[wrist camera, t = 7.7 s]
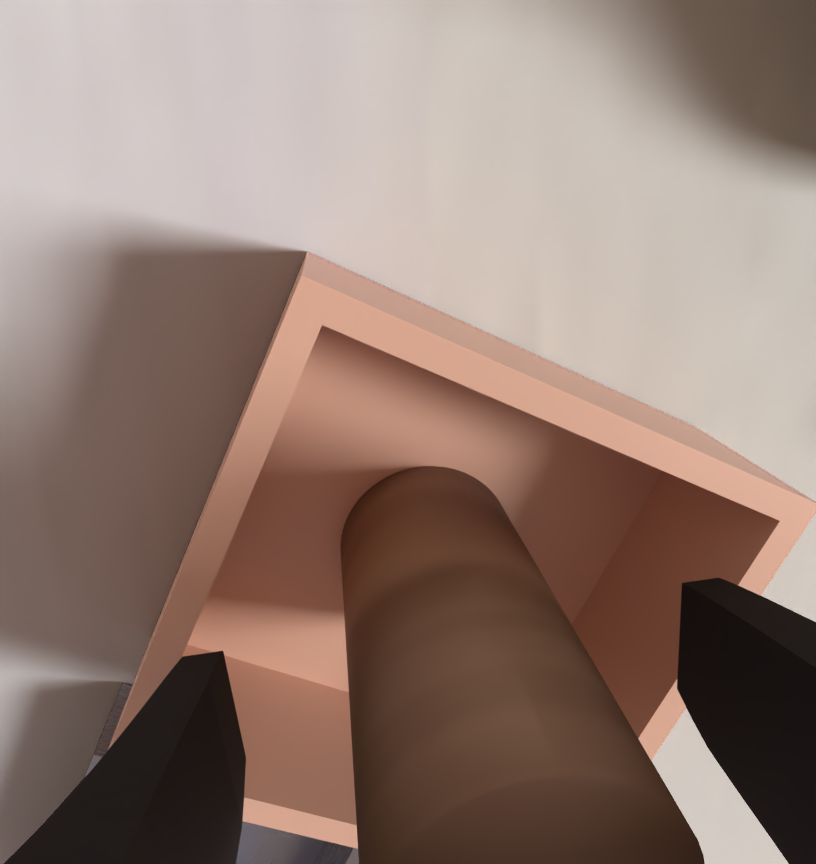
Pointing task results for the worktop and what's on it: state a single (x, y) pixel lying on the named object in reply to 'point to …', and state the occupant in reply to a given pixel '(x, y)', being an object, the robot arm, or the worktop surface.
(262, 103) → the worktop surface
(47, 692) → the worktop surface
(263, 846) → the metal socket
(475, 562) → the walnut strut
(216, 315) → the worktop surface
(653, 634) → the terracotta bin
